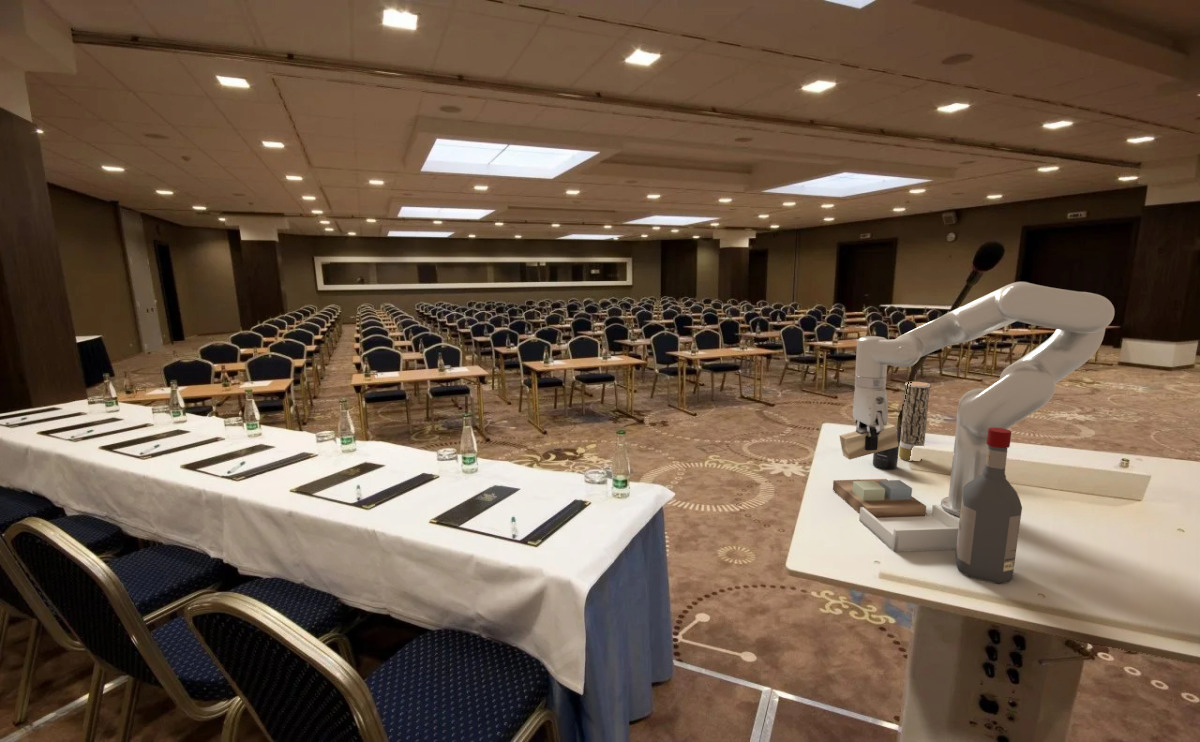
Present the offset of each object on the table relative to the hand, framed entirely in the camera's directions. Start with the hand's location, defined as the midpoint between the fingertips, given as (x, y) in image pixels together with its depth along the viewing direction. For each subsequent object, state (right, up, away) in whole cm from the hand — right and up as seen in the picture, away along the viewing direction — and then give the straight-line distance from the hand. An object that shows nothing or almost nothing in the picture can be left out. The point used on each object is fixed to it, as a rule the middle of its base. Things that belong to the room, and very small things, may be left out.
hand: (866, 446), depth 148 cm
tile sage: (-4, -12, -8) cm, 15 cm away
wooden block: (+1, -1, 0) cm, 2 cm away
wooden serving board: (0, -14, -6) cm, 15 cm away
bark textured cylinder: (+28, -8, +27) cm, 39 cm away
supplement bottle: (+16, -9, +20) cm, 27 cm away
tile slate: (+3, -11, -8) cm, 14 cm away
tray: (0, -17, -22) cm, 28 cm away
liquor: (+5, -20, -38) cm, 43 cm away
